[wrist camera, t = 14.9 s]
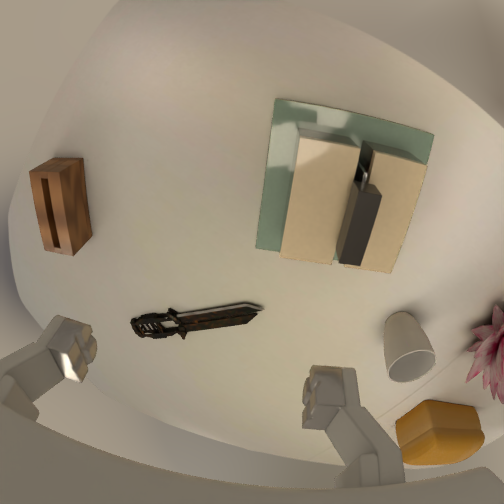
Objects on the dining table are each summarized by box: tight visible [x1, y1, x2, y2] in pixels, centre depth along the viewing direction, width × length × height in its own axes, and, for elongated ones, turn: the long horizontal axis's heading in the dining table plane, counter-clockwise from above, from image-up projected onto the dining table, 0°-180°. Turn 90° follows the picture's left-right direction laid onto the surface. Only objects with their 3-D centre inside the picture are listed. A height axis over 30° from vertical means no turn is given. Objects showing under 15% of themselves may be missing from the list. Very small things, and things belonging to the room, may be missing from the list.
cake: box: [256, 98, 434, 273], centre depth 36 cm, size 20×20×7 cm
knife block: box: [29, 158, 92, 256], centre depth 40 cm, size 13×6×6 cm, turn 174°
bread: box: [396, 400, 485, 465], centre depth 61 cm, size 24×13×15 cm, turn 68°
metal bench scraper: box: [336, 161, 382, 266], centre depth 34 cm, size 10×2×10 cm, turn 174°
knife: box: [130, 304, 264, 339], centre depth 53 cm, size 25×6×1 cm, turn 103°
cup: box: [384, 312, 437, 383], centre depth 45 cm, size 8×8×10 cm
